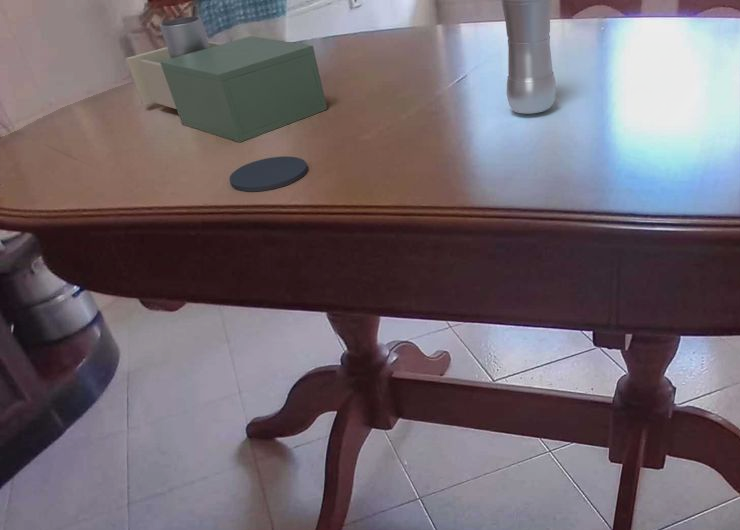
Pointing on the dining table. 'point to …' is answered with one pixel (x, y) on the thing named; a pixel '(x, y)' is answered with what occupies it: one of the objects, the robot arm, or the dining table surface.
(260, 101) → the green box
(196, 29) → the gray cup
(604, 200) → the dining table surface
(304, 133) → the dining table surface
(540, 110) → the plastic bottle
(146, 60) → the drawer
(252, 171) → the coaster
